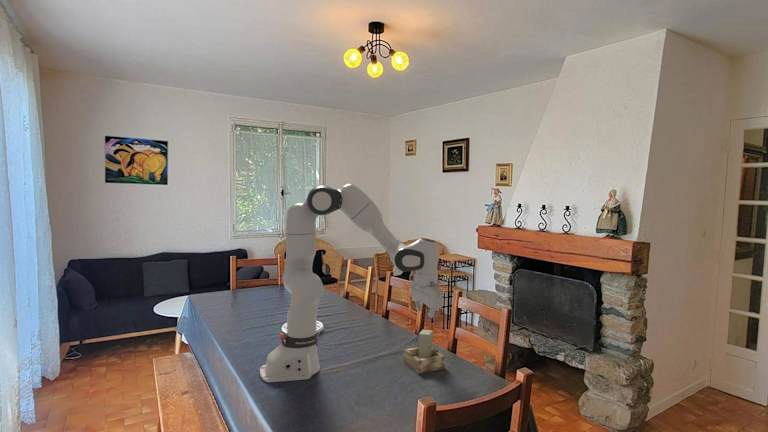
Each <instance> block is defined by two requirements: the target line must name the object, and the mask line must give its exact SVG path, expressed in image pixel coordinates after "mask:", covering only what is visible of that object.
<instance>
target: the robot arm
mask: <svg viewBox="0 0 768 432" xmlns="http://www.w3.org/2000/svg"><path fill="white" fill-rule="evenodd" d="M338 210H340V211H341V212H343V214H344V215H346V216H347V218H348V219H349V220H350V221H351V222H352V224H354V225H355V226H356V227H358V228H359V229H360V230H361V231H363V232H365V233H367V234H370V235H371V236H372V237H374V239H375V240H377V242H378V243H379V244H380V245H381V246H382V247H383V248H384V250H385V251H386V253H387V256H388V259H389V261H390V263H391V264H392V265H393V266H395V267H396V269H398V270H399V271H401V272H406V273H407V272H409V273H410V272H414V273H412V274H409V276H408V278H409V280H410V281H409V296H410V298H413V299H414V303H415V309H416V311H418V312H421V311H422V310H423V307H422V304H423V305H426V306H427V307H429V312H427V314H428V315H427V317H429V318H430V319H434V317H435V312H436V310H438V309H442V307H443V291H442V288H441V287H440V285H439V283H438V277H439V276H438V275H439V271H438V264H439V255H440V254H439V245H438V243H437V242H436V241H435V240H433V239H430V238H426V237H425V238H424V237H420V238H418V239H417V240H415V241H413V242H412V243H410V244H409V243H408V244H407V243H405V242H403V241H400V240H399V239H397V237H396V236H395V235H394V234H393V233H392V232H391V231H390V230H389V228H387V226H386V224H385V223H384V221H383V216H382V215H383V214H382V213H381V211H380V209H379V207H378V206H377V204H376V203H375V202H374V201H373V200H372V199H371V198H370V197H369V195H367V193H365V192H364V191H363V190H362V189H361V188H359V187H358V186H357V185H355V184H353V183H347V184H344V185H342V186H341V187H340V188H338V189H335V188H332V187H331V186H329V185H327V184H317V185H315V186H314V187H312V188H311V189H310V191H308V194H307V197H306V199H305V201H304V202H298V203H294V204H291V205H290V206H289V207H288V209H287V213H286V218H285V219H286V220H285V249H286V251H285V254H286V255H285V261H284V262H285V263H284V269H283V274H282V283H283V286H284V288H285V290H286V291H287V292H288V293H290V305H289V309H288V311H287V314H286V315H287V316H286V333H285V334H284V332H279V334H278V338H279V339H280V340H281V343H280V344H279V345H278V346H277V347H276V348H275V349H273V350H271V352H269V353H268V355H267V358H266V362H265V364H262V366H261V367H260V368H259V376H260V379H261V380H262V381H264V382H265V383H279V382H293V381H294V382H295V381H303V380H304V381H305V380H310V379H311V378H312V377H313V376H314V375H315V374H317V373H318V372H319V371H320V370H321V365H320V361H319V356H318V343H319V339H318V338H319V337H318V332H317V318H318V317H317V316H318V314H317V313H318V309H319V308H318V307H319V303H320V299H321V297H322V296H323V294H324V289H325V288H324V284H323V282H322V281H323V280H322V279H321V278H320V276H319V275H317V273H314V272H313V265H314V264H313V263H314V259H315V256H316V253H317V237H316V234H317V232H316V230H317V229H316V224H317V218H318V217H319V216H327V215H329V214H331V213H334V212H335V211H338ZM421 303H422V304H421Z"/></svg>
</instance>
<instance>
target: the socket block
mask: <svg viewBox="0 0 768 432" xmlns="http://www.w3.org/2000/svg"><path fill="white" fill-rule="evenodd" d="M418 348H419V346H417V347H410V348H405V349H403V363H404V364H406V365H407V366H408V367H409V368H410V369H412V370H413V371H414V372H415V373H416V374H417V375H419V374H424V373H429V372H433V371H439V370H444V369H445V367H446V366H445V365H446V356H445V355H444V354H443V353H441V352H440V351H439V349H437V348H434V347H433V346H432V357H427V358H421V359H419V358H418Z"/></svg>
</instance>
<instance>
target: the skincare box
mask: <svg viewBox="0 0 768 432" xmlns="http://www.w3.org/2000/svg"><path fill="white" fill-rule="evenodd" d="M433 331H434V330H431V329H430V330H429V329H425V328H424V329H423V328H422V330H421V331H420V332H419V333H418V347H419V348H418V358H419V359H421V358H427V357H432V347H433V343H434V342H433V337H434V336H433V335H434V334H433V333H434V332H433Z"/></svg>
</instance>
